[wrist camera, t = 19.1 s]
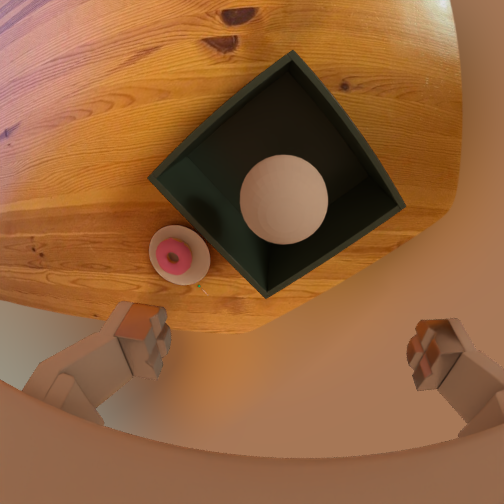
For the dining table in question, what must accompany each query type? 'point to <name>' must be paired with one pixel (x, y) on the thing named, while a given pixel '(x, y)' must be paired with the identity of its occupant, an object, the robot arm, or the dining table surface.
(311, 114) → the bin
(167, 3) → the dining table surface
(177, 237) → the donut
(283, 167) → the lollipop
